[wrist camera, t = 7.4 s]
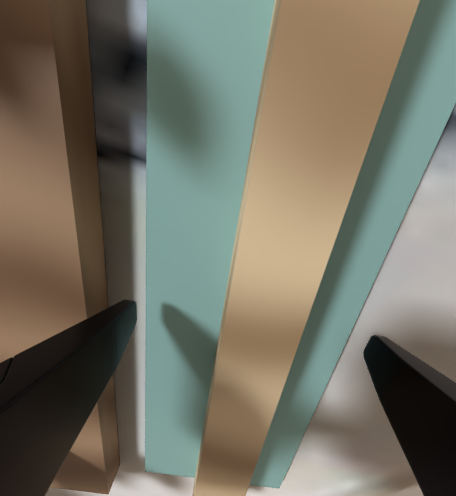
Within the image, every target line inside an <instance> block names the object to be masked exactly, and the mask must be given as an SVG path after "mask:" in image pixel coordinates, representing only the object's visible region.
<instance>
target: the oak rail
mask: <svg viewBox="0 0 456 496" xmlns="http://www.w3.org/2000/svg"><path fill="white" fill-rule="evenodd" d="M419 1H420V0H275V3H274V9H273V15H272V21H271V27H270V33H269V39H268V45H267V51H266V57H265V62H264V68H263V74H262V80H261V86H260V92H259V98H258V104H257V110H256V116H255V122H254V128H253V134H252V140H251V146H250V152H249V158H248V164H247V170H246V176H245V182H244V188H243V194H242V200H241V206H240V212H239V218H238V224H237V230H236V236H235V242H234V248H233V254H232V260H231V266H230V272H229V278H228V284H227V290H226V296H225V302H224V307H223V313H222V319H221V325H220V331H219V337H218V343H217V349H216V355H215V361H214V367H213V373H212V379H211V385H210V391H209V397H208V403H207V409H206V415H205V421H204V427H203V433H202V439H201V445H200V451H199V457H198V463H197V469H196V475H195V482H194V489H193V496H245V495H246V493H247V490H248V487H249V484H250V481H251V478H252V476H253V473H254V470H255V467H256V464H257V461H258V458H259V456H260V453H261V450H262V447H263V444H264V441H265V439H266V436H267V433H268V430H269V427H270V424H271V422H272V419H273V416H274V413H275V410H276V407H277V405H278V402H279V399H280V396H281V393H282V390H283V388H284V385H285V382H286V379H287V376H288V373H289V370H290V368H291V365H292V362H293V359H294V356H295V353H296V351H297V348H298V345H299V342H300V339H301V336H302V334H303V331H304V328H305V325H306V322H307V319H308V317H309V314H310V311H311V308H312V305H313V302H314V300H315V297H316V294H317V291H318V288H319V285H320V282H321V280H322V277H323V274H324V271H325V268H326V265H327V263H328V260H329V257H330V254H331V251H332V248H333V246H334V243H335V240H336V237H337V234H338V231H339V229H340V226H341V223H342V220H343V217H344V214H345V211H346V209H347V206H348V203H349V200H350V197H351V194H352V192H353V189H354V186H355V183H356V180H357V177H358V175H359V172H360V169H361V166H362V163H363V160H364V158H365V155H366V152H367V149H368V146H369V143H370V141H371V138H372V135H373V132H374V129H375V126H376V123H377V121H378V118H379V115H380V112H381V109H382V106H383V104H384V101H385V98H386V95H387V92H388V89H389V87H390V84H391V81H392V78H393V75H394V72H395V70H396V67H397V64H398V61H399V58H400V55H401V53H402V50H403V47H404V44H405V41H406V38H407V35H408V33H409V30H410V27H411V24H412V21H413V18H414V16H415V13H416V10H417V7H418V4H419Z"/></svg>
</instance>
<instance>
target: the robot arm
mask: <svg viewBox="0 0 456 496" xmlns="http://www.w3.org/2000/svg"><path fill="white" fill-rule="evenodd" d="M136 320H137V305H136V302H135V301H132V300H122V301H121V302H119V303H117V304H115V305H113V306H111V307H109V308H107V309H105V310H103V311H101V312H99V313H97V314H95V315H93V316H91V317H89V318H87V319H85V320H83V321H81V322H79V323H77V324H75V325H73V326H71V327H70V328H68V329H66V330H64V331H62V332H60V333H58V334H56V335H54V336H52V337H50V338H48V339H46V340H44V341H42V342H40V343H38V344H36V345H34V346H32V347H30V348H28V349H26V350H24V351H22V352H20V353H19V354H17V355H15V356H14V357H13V358H12V357H11V358H9V359H7V360H5V361H3V362H1V363H0V496H45V494H46V493H47V491H48V489H49V487H50V485H51V484H52V482H53V480H54V478H55V476H56V475H57V473H58V471H59V469H60V468H61V466H62V464H63V462H64V460H65V459H66V457H67V455H68V453H69V452H70V450H71V448H72V446H73V444H74V443H75V441H76V439H77V437H78V435H79V434H80V432H81V430H82V428H83V427H84V425H85V423H86V421H87V419H88V418H89V416H90V414H91V412H92V411H93V409H94V407H95V405H96V403H97V402H98V400H99V398H100V396H101V394H102V393H103V391H104V389H105V387H106V386H107V384H108V382H109V380H110V378H111V377H112V375H113V373H114V371H115V369H116V368H117V366H118V364H119V361H120V359H121V357H122V355H123V352H124V350H125V348H126V345H127V343H128V341H129V339H130V336H131V334H132V332H133V329H134V327H135V324H136ZM364 359H365V362H366V364H367V367H368V370H369V373H370V375H371V378H372V381H373V384H374V386H375V389H376V392H377V394H378V397H379V400H380V402H381V404H382V406H383V409H384V411H385V413H386V415H387V417H388V419H389V422H390V424H391V426H392V428H393V430H394V432H395V435H396V437H397V439H398V441H399V443H400V445H401V447H402V450H403V452H404V454H405V456H406V458H407V460H408V463H409V465H410V467H411V469H412V471H413V473H414V475H415V478H416V480H417V482H418V484H419V486H420V488H421V490H422V492H423V495H424V496H456V383H455V382H453V381H452V380H450V379H449V378H447V377H446V376H444V375H443V374H441V373H440V372H438V371H437V370H435V369H434V368H432V367H430V366H429V365H427V364H426V363H424V362H423V361H421V360H420V359H418V358H417V357H415V356H414V355H412V354H411V353H409V352H408V351H406V350H404V349H403V348H401V347H400V346H398V345H397V344H395V343H394V342H392V341H391V340H389V339H388V338H386V337H383V336H377V335H373V336H372V337H371V338H370V340H369V342H368V344H367V346H366V347H365V349H364Z"/></svg>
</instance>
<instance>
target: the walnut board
mask: <svg viewBox="0 0 456 496" xmlns="http://www.w3.org/2000/svg"><path fill="white" fill-rule="evenodd" d="M107 308H108V296H107V283H106V269H105V256H104V242H103V229H102V215H101V202H100V188H99V174H98V161H97V147H96V134H95V120H94V107H93V93H92V80H91V66H90V53H89V39H88V26H87V12H86V0H0V363H1V362H3V361H5V360H7V359H9V358H11V357H12V358H13V357H14V356H15V355H17V354H19V353H20V352H22V351H24V350H26V349H28V348H30V347H32V346H34V345H36V344H38V343H40V342H42V341H44V340H46V339H48V338H50V337H52V336H54V335H56V334H58V333H60V332H62V331H64V330H66V329H68V328H70V327H71V326H73V325H75V324H77V323H79V322H81V321H83V320H85V319H87V318H89V317H91V316H93V315H95V314H97V313H99V312H101V311H103V310H105V309H107ZM119 465H120V458H119V445H118V431H117V418H116V404H115V391H114V377H113V375H112V377H111V378H110V380H109V382H108V384H107V386H106V387H105V389H104V391H103V393H102V394H101V396H100V398H99V400H98V402H97V403H96V405H95V407H94V409H93V411H92V412H91V414H90V416H89V418H88V419H87V421H86V423H85V425H84V427H83V428H82V430H81V432H80V434H79V435H78V437H77V439H76V441H75V443H74V444H73V446H72V448H71V450H70V452H69V453H68V455H67V457H66V459H65V460H64V462H63V464H62V466H61V468H60V469H59V471H58V473H57V475H56V476H55V478H54V480H53V482H52V484H51V485H50V487H53V488H61V489H69V490H77V491H85V492H93V493H101V494H109V491H110V489H111V486H112V484H113V481H114V478H115V476H116V473H117V470H118V468H119Z"/></svg>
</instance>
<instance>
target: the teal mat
mask: <svg viewBox="0 0 456 496" xmlns="http://www.w3.org/2000/svg"><path fill="white" fill-rule="evenodd" d="M274 3H275V0H147V168H146V382H145V471H146V472H154V473H161V474H169V475H177V476H185V477H193V478H195V475H196V469H197V463H198V457H199V451H200V445H201V439H202V433H203V427H204V421H205V415H206V409H207V403H208V397H209V391H210V385H211V379H212V373H213V367H214V361H215V355H216V349H217V343H218V337H219V331H220V325H221V319H222V313H223V307H224V302H225V296H226V290H227V284H228V278H229V272H230V266H231V260H232V254H233V248H234V242H235V236H236V230H237V224H238V218H239V212H240V206H241V200H242V194H243V188H244V182H245V176H246V170H247V164H248V158H249V152H250V146H251V140H252V134H253V128H254V122H255V116H256V110H257V104H258V98H259V92H260V86H261V80H262V74H263V68H264V62H265V57H266V51H267V45H268V39H269V33H270V27H271V21H272V15H273V9H274ZM455 104H456V0H420V1H419V4H418V7H417V10H416V13H415V16H414V18H413V21H412V24H411V27H410V30H409V33H408V35H407V38H406V41H405V44H404V47H403V50H402V53H401V55H400V58H399V61H398V64H397V67H396V70H395V72H394V75H393V78H392V81H391V84H390V87H389V89H388V92H387V95H386V98H385V101H384V104H383V106H382V109H381V112H380V115H379V118H378V121H377V123H376V126H375V129H374V132H373V135H372V138H371V141H370V143H369V146H368V149H367V152H366V155H365V158H364V160H363V163H362V166H361V169H360V172H359V175H358V177H357V180H356V183H355V186H354V189H353V192H352V194H351V197H350V200H349V203H348V206H347V209H346V211H345V214H344V217H343V220H342V223H341V226H340V229H339V231H338V234H337V237H336V240H335V243H334V246H333V248H332V251H331V254H330V257H329V260H328V263H327V265H326V268H325V271H324V274H323V277H322V280H321V282H320V285H319V288H318V291H317V294H316V297H315V300H314V302H313V305H312V308H311V311H310V314H309V317H308V319H307V322H306V325H305V328H304V331H303V334H302V336H301V339H300V342H299V345H298V348H297V351H296V353H295V356H294V359H293V362H292V365H291V368H290V370H289V373H288V376H287V379H286V382H285V385H284V388H283V390H282V393H281V396H280V399H279V402H278V405H277V407H276V410H275V413H274V416H273V419H272V422H271V424H270V427H269V430H268V433H267V436H266V439H265V441H264V444H263V447H262V450H261V453H260V456H259V458H258V461H257V464H256V467H255V470H254V473H253V476H252V478H251V481H250V484H249V485H256V486H264V487H271V488H280V486H281V483H282V481H283V479H284V477H285V475H286V473H287V470H288V468H289V466H290V464H291V462H292V459H293V457H294V455H295V453H296V451H297V449H298V446H299V444H300V442H301V440H302V438H303V435H304V433H305V431H306V429H307V427H308V425H309V422H310V420H311V418H312V416H313V414H314V411H315V409H316V407H317V405H318V403H319V401H320V398H321V396H322V394H323V392H324V390H325V387H326V385H327V383H328V381H329V379H330V376H331V374H332V372H333V370H334V368H335V366H336V363H337V361H338V359H339V357H340V355H341V352H342V350H343V348H344V346H345V344H346V342H347V339H348V337H349V335H350V333H351V331H352V328H353V326H354V324H355V322H356V320H357V318H358V315H359V313H360V311H361V309H362V307H363V304H364V302H365V300H366V298H367V296H368V294H369V291H370V289H371V287H372V285H373V283H374V280H375V278H376V276H377V274H378V272H379V270H380V267H381V265H382V263H383V261H384V259H385V256H386V254H387V252H388V250H389V248H390V245H391V243H392V241H393V239H394V237H395V235H396V232H397V230H398V228H399V226H400V224H401V221H402V219H403V217H404V215H405V213H406V211H407V208H408V206H409V204H410V202H411V200H412V197H413V195H414V193H415V191H416V189H417V187H418V184H419V182H420V180H421V178H422V176H423V173H424V171H425V169H426V167H427V165H428V163H429V160H430V158H431V156H432V154H433V152H434V149H435V147H436V145H437V143H438V141H439V139H440V136H441V134H442V132H443V130H444V128H445V125H446V123H447V121H448V119H449V117H450V114H451V112H452V110H453V108H454V106H455Z"/></svg>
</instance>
